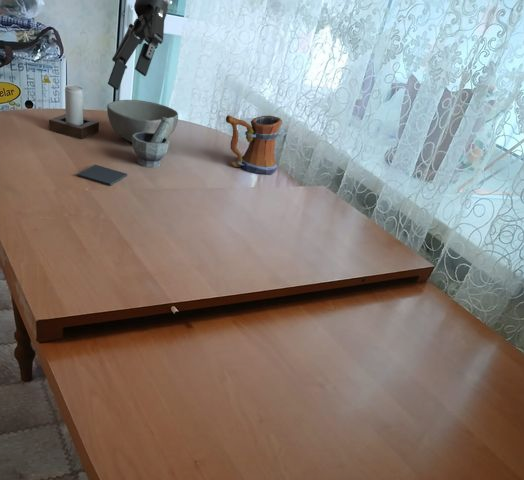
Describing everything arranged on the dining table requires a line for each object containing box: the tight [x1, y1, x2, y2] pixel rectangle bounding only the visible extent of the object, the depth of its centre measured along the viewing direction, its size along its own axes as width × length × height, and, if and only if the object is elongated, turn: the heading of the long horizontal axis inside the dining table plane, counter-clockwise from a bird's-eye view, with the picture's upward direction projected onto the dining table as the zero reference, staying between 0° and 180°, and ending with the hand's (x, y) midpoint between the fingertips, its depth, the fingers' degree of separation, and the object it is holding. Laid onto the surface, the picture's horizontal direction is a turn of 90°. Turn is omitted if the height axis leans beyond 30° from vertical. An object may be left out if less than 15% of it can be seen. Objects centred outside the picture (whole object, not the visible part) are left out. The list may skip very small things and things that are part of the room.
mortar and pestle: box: [131, 117, 171, 169], centre depth 147 cm, size 11×9×12 cm
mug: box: [225, 114, 283, 175], centre depth 159 cm, size 18×12×15 cm, turn 113°
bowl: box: [106, 99, 179, 143], centre depth 161 cm, size 20×20×10 cm
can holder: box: [48, 113, 100, 140], centre depth 159 cm, size 10×10×3 cm
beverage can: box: [64, 84, 84, 126], centre depth 157 cm, size 5×5×12 cm
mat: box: [76, 164, 128, 187], centre depth 137 cm, size 9×9×1 cm
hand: (126, 79), depth 129 cm, fingers open, 13 cm apart
